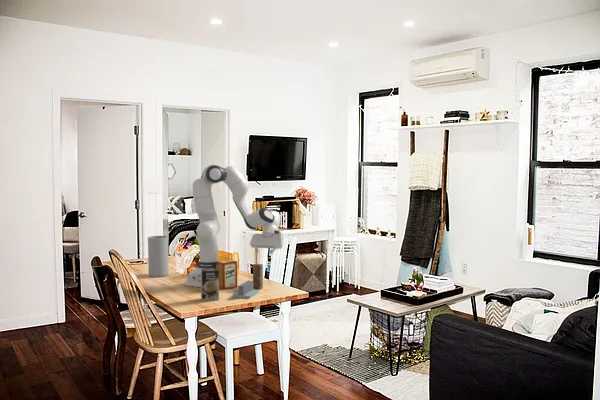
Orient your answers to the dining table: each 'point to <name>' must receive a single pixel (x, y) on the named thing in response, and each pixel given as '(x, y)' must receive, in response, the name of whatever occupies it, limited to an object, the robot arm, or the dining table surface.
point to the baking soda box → (227, 274)
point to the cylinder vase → (158, 256)
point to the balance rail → (245, 290)
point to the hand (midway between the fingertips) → (263, 253)
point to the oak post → (257, 276)
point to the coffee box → (209, 284)
